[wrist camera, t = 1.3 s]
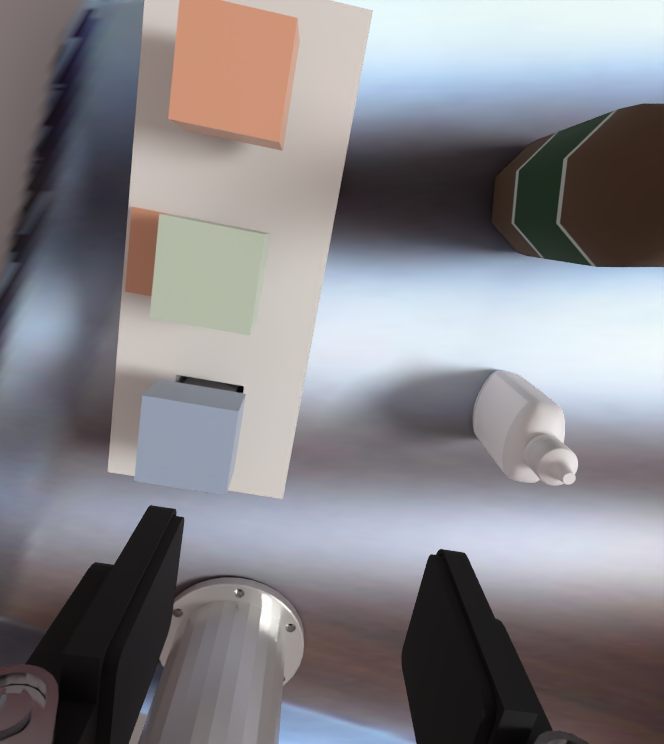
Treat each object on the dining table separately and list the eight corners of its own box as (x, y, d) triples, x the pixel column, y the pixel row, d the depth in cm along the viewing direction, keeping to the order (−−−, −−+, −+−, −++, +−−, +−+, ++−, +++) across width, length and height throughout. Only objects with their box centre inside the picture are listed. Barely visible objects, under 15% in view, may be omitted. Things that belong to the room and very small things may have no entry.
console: (286, 466, 40) (282, 501, 35) (133, 441, 40) (105, 473, 34) (364, 41, 32) (373, 8, 27) (173, -2, 31) (145, -46, 26)
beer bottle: (562, 274, 37) (970, 362, 14) (466, 232, 36) (734, 249, 13) (618, 168, 35) (1203, 62, 12) (518, 119, 34) (946, -99, 11)
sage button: (264, 310, 34) (249, 335, 27) (187, 296, 34) (149, 317, 26) (277, 231, 33) (265, 234, 25) (196, 215, 33) (159, 213, 25)
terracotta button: (288, 161, 32) (278, 142, 24) (204, 144, 31) (168, 118, 24) (302, 69, 30) (297, 17, 23) (215, 49, 30) (180, -10, 22)
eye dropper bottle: (450, 412, 40) (504, 490, 28) (503, 359, 39) (582, 418, 27) (488, 446, 40) (556, 535, 29) (541, 395, 39) (633, 467, 28)
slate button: (244, 438, 37) (225, 495, 29) (172, 426, 37) (134, 481, 29) (255, 370, 36) (238, 411, 28) (180, 357, 35) (142, 395, 28)
